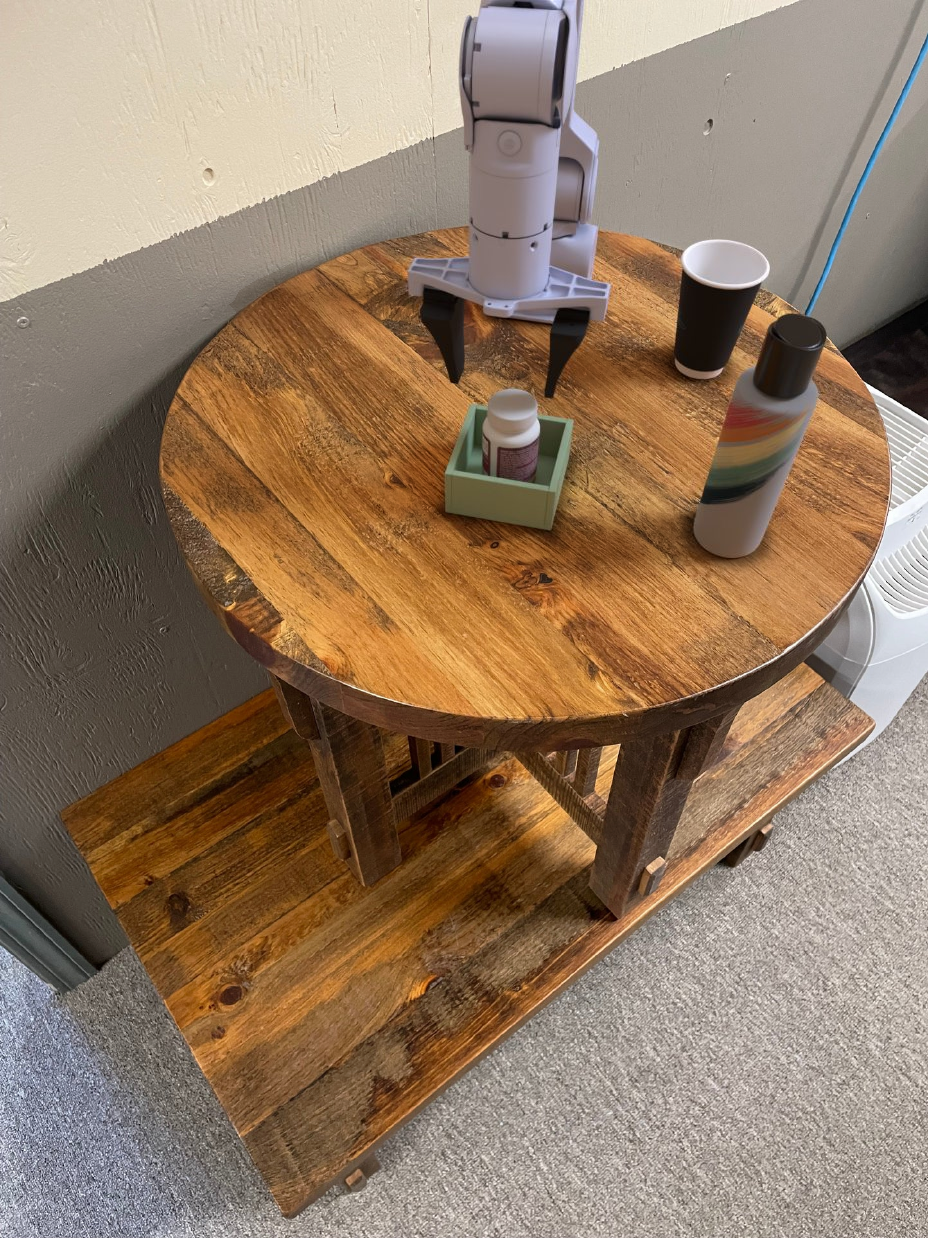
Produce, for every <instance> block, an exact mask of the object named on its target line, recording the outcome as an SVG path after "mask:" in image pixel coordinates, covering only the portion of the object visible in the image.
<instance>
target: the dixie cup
mask: <svg viewBox="0 0 928 1238" xmlns="http://www.w3.org/2000/svg"><path fill="white" fill-rule="evenodd" d="M680 265H681V278H680V288H679V298H678V309H677V315H676V316H677V317H676V328H675V338H674V346H673V357H674V365H675V367H676V369H677V370H678V371H679V372H680V373H681V374H683V375H685V376H686V377H689V378H693V379H698V380H707V379H712V378H713V379H714V378H716V377H717V376H719V375H720V374H721V373H722V371H723V369H724V368H725V367H726V366H727V365H728V363H729V361H730V358H731V356H732V355H733V352H734V349H735V347H736V344H737V342H738V340H739V337H740V335H741V332H742V330H743V328H744V326H745V323H746V321H747V319H748V316H749V314H750V312H751V309H752V307H753V304H754V302H755V300H756V297H757V295H758V292H759V290H760V288H761V286H762V283H763V282H764V281H765V280H766V279H767V278H768V276H769V274H770V268H771V267H770V262H769V261H768V259H767V258H766V256H765V255H764V254H763V253H762V252H761V251H759V250H758V249H756V248H755V247H752V246H750V245H748V244H746V243H743V242H740V241H735V240H730V239H706V240H702V241H701V240H700V241H698V242H695V243H693V244H691V245H689V246H687V248H685V250H683V252H682V253H681V255H680Z"/></svg>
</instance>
